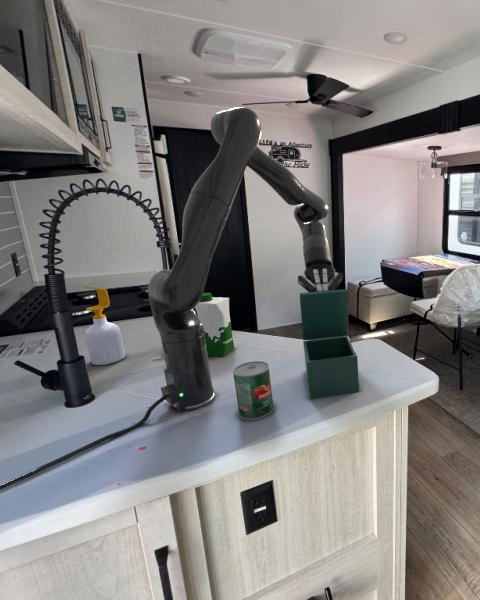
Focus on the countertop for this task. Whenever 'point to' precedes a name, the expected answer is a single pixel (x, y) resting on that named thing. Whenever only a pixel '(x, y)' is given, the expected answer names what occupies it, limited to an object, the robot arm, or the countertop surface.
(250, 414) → the canned tomato
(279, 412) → the countertop surface
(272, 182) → the robot arm
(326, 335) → the case lid
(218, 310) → the milk carton
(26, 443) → the countertop surface
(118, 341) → the spray bottle
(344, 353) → the case
